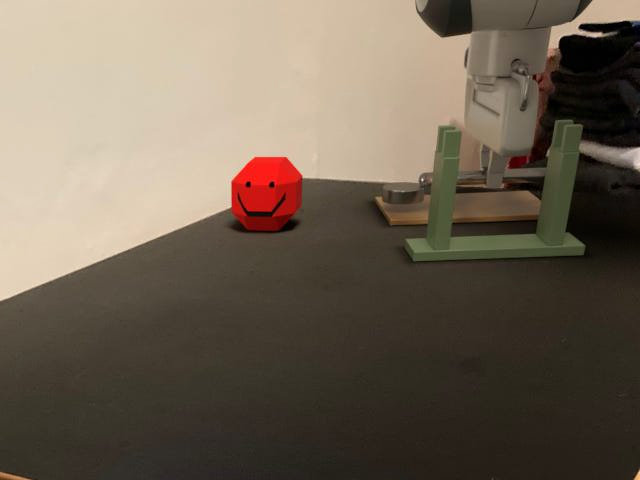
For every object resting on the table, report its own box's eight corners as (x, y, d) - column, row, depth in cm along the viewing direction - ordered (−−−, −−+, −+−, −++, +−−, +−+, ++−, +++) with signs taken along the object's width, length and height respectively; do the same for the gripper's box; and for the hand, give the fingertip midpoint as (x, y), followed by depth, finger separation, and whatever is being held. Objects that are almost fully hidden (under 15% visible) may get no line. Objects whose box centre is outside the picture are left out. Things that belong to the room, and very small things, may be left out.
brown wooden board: (527, 195, 130) (527, 190, 130) (557, 219, 118) (558, 213, 118) (374, 201, 131) (375, 196, 131) (390, 225, 120) (390, 220, 119)
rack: (567, 241, 110) (590, 117, 102) (583, 255, 105) (608, 125, 98) (404, 247, 111) (415, 125, 104) (413, 261, 106) (425, 134, 99)
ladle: (553, 189, 124) (558, 162, 123) (565, 198, 120) (570, 171, 118) (379, 196, 126) (381, 170, 124) (384, 205, 122) (387, 178, 120)
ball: (227, 233, 120) (226, 165, 116) (242, 218, 126) (242, 153, 122) (291, 235, 118) (293, 165, 114) (304, 220, 124) (306, 153, 120)
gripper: (560, 63, 105) (538, 201, 113) (513, 48, 122) (496, 169, 130) (501, 66, 106) (482, 203, 114) (461, 50, 123) (448, 171, 130)
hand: (489, 184), depth 122 cm, fingers closed on ladle
